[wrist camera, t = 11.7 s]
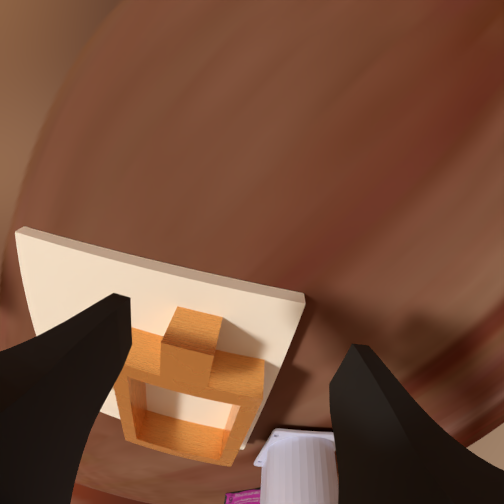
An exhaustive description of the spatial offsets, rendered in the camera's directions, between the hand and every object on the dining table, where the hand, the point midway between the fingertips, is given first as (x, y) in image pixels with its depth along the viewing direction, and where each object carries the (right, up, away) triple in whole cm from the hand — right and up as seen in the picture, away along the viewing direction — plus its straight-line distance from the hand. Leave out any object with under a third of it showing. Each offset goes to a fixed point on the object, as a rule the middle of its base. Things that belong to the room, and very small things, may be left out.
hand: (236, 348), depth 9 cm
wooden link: (-4, -7, +13) cm, 15 cm away
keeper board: (-9, -6, +14) cm, 18 cm away
